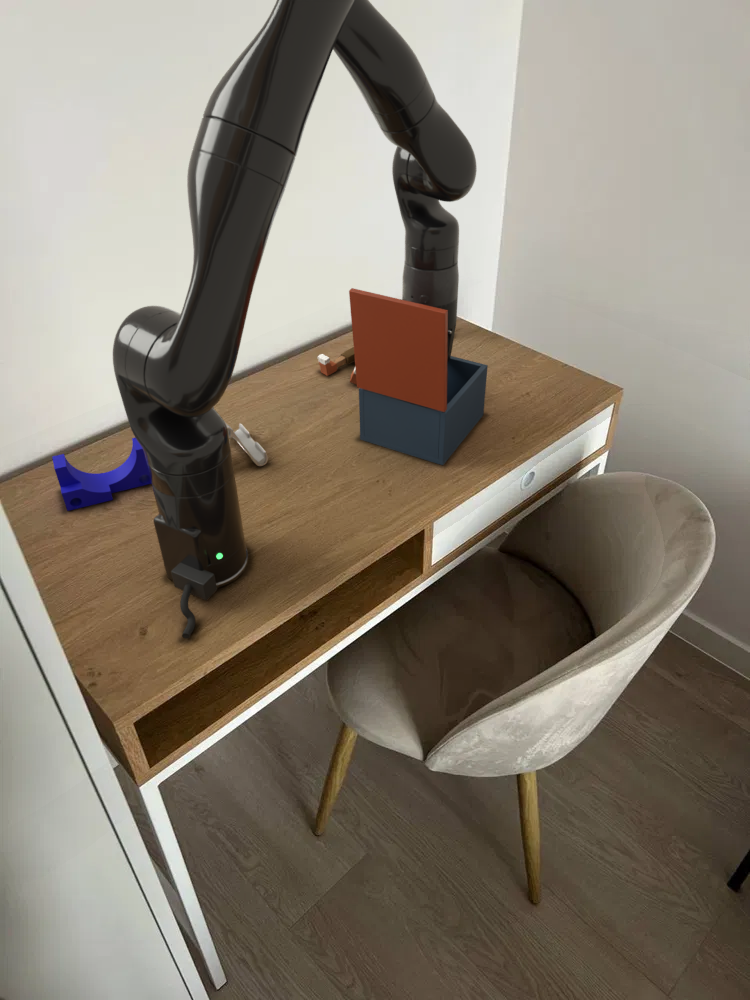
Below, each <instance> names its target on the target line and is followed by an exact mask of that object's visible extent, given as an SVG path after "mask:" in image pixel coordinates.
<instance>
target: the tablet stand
mask: <svg viewBox="0 0 750 1000" xmlns="http://www.w3.org/2000/svg"><path fill="white" fill-rule="evenodd" d="M213 408H214V409H215V406H214V407H213ZM224 422H225V424H226V426H227V429H228V434H229V440H230V439H233V440H234V441H235V442H237V444H239V446H240V447H241V448H242V449H243V451H244V452H245V453H246V454H247V455H248V456H249V458H250V460H251V461H252V462H253V463H254V464H255V465H256V466H257V467H263V466H265V465H266V464H267V463H268V461H269V457H268V454H267V451H266V450H265V449H264V448H263V446H262V445H261V444H260V443H259V442H258V441H255V440H254V439H253V438H252V437H251V434H250V432H249V430H248V429H246V427H245V426H244V425H243V423H238V428H237V430H235V431H234V429H233V428H232V427H231V425H229V424H228V423H227V422H226V421H225V420H224Z"/></svg>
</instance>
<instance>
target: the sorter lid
mask: <svg viewBox="0 0 750 1000" xmlns="http://www.w3.org/2000/svg"><path fill="white" fill-rule="evenodd" d="M348 295H349V297H348V298H349V307H350V308H349V309H350V317H351V318H350V319H351V328H352V329H351V331H352V342H353V343H352V344H353V347H354V355H355V361H354V368H355V367H356V379H357V384H356V387H357V388H358V389H359V388H361V389H365V390H368V391H372V392H375V393H379V394H382V395H386V396H389V397H393V398H397V399H400V400H404V401H407V402H411V403H414V404H418V405H421V406H425V407H428V408H432V409H435V410H439V411H442V412H445V411H446V410H447V335H448V310H444V309H440V308H436V307H431V306H427V305H423V304H418V303H414V302H410V301H405V300H402V299H400V298H396V297H392V296H388V295H383V294H379V293H375V292H371V291H367V290H362V289H358V288H353V287H351V288H350V289H349V290H348Z"/></svg>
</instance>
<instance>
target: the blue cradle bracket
mask: <svg viewBox="0 0 750 1000" xmlns="http://www.w3.org/2000/svg"><path fill="white" fill-rule="evenodd" d="M131 441H132V447H131V451H130V454H129V455H128V457H127V458H126V460H125V461H124V462H123V463H122V464H120V465H119V466H117V467H116V468H114V469H112V470H110V471H106V472H101V473H91V472H85V471H82V470H80V469H78V468H76V467H75V466H73V465H72V464H71V463H70V462H69V461H68V459H67V457H66V456H65V453H62V454H57V455H53V456H51V458H52V463H53V468H54V472H55V476H56V478H57V481H58V483H59V487H60V493H61V497H62V500H63V502H64V506H65V508H66V511H67V512H69V511H74V510H78V509H81V508H82V509H83V508H85V507H90V506H93V505H94V506H95V505H97V504H101V503H105V502H106V503H107V502H110V501H113V500H114V498H113V494H115V493H119V492H124V491H127V490H130V489H131V490H132V489H135V488H140V487H143V486H147V485H152V483H151V478H150V474H149V470H148V466H147V461H146V457H145V453H144V450H143V448H142V447H141V445H140V444H139V442H138V441H137V439H136V438H135V437H132V438H131Z"/></svg>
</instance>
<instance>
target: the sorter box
mask: <svg viewBox="0 0 750 1000" xmlns="http://www.w3.org/2000/svg"><path fill="white" fill-rule="evenodd" d="M488 367H489V365H488V364H485V363H480V362H477V361H473V360H470V359H465V358H461V357H457V356H452V355H451V358H450V360H449V361H448V360H447V371H448V381H447V410H446V411H445V412H442V411H439V410H435V409H432V408H428V407H425V406H421V405H418V404H414V403H411V402H407V401H404V400H400V399H397V398H393V397H389V396H386V395H382V394H379V393H375V392H372V391H368V390H365V389H361V388H358V411H359V412H358V413H359V440H360V441H364V442H366V443H369V444H373V445H376V446H380V447H383V448H386V449H389V450H392V451H395V452H399V453H402V454H405V455H408V456H412V457H415V458H418V459H421V460H425V461H427V462H431V463H434V464H437V465H440V466H444V465H445V464H446V463H447V461H449V459H450V457H451V456H452V455H453V454H454V452H455V451H456V450H457V449H458V447H459V446H460V445H461V443H463V441H464V440H465V439H466V438H467V436H468V435H469V434H470V433H471V431H472V430H473V429H474V427H476V425H477V424H478V423H479V422H480V421H481V419H482V418H483V416H484V412H485V403H486V401H485V400H486V390H487V389H486V388H487V379H488Z"/></svg>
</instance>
